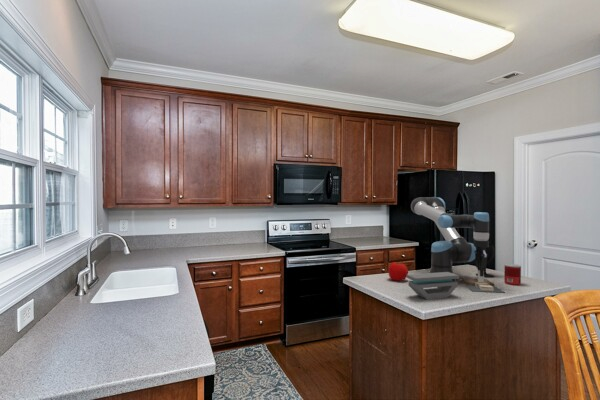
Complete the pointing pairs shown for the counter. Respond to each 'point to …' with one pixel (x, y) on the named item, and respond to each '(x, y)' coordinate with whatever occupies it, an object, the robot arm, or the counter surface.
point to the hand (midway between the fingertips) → (480, 281)
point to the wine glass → (489, 259)
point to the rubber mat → (475, 289)
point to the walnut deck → (472, 281)
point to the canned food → (512, 274)
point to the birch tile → (484, 286)
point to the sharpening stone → (433, 284)
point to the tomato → (398, 271)
